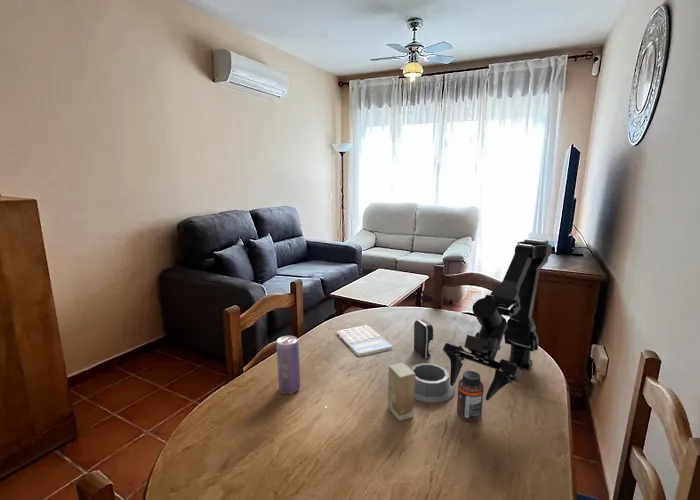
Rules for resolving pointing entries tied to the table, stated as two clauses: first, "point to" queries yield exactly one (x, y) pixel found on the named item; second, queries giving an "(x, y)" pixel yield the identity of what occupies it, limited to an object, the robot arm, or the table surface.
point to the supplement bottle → (470, 397)
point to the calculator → (364, 340)
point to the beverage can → (288, 364)
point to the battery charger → (422, 337)
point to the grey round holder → (432, 383)
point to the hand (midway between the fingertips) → (468, 392)
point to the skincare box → (401, 391)
